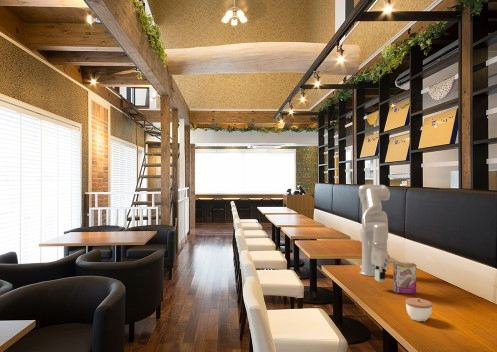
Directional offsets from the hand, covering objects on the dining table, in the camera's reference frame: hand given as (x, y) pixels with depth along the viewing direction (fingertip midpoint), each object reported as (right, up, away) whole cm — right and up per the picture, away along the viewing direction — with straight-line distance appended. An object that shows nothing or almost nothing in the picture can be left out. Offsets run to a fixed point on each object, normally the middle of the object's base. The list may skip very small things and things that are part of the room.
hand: (379, 277), depth 201 cm
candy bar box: (+12, -7, -6) cm, 15 cm away
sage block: (0, -2, 0) cm, 2 cm away
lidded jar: (+1, -6, -43) cm, 44 cm away
